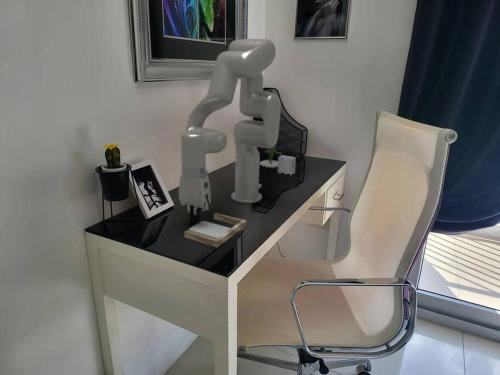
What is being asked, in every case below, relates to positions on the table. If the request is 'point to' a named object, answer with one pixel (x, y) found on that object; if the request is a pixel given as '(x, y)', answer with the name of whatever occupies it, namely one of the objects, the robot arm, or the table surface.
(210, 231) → the hard drive
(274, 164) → the potted plant
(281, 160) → the medicine box
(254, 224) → the table surface
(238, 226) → the wooden frame
